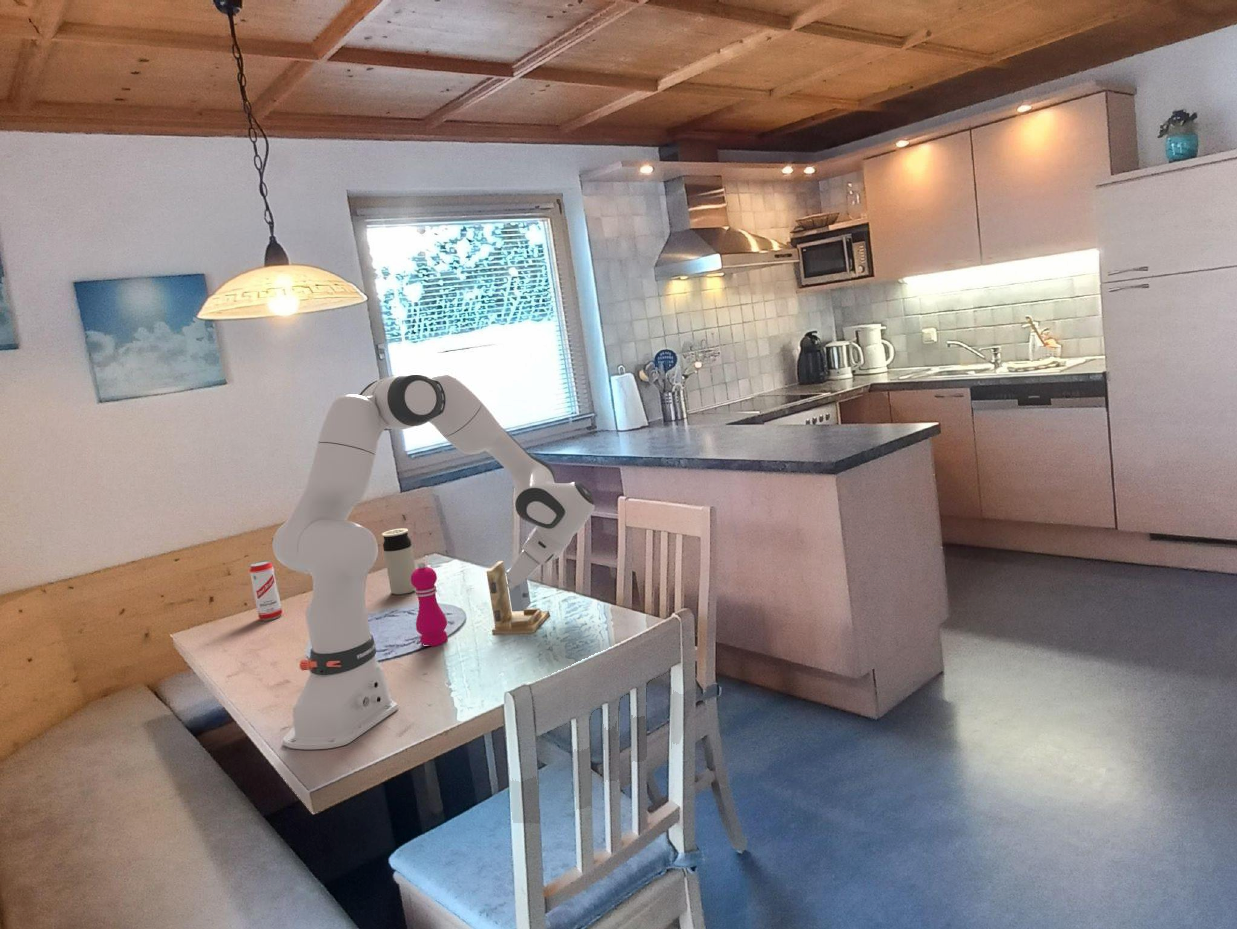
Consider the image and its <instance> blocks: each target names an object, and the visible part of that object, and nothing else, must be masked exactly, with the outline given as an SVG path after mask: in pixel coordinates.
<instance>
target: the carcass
mask: <svg viewBox="0 0 1237 929" xmlns="http://www.w3.org/2000/svg"><path fill="white" fill-rule="evenodd" d="M486 576H487V585H488V590H489V596H490V603H491V610H492V616H493V622H494V623H493V624H494V627H493V628H492V629H491V633H492V635H500V634H501V635H505V634H510V635H511V634H534V632H536V630H537V629H538V628H539V627H540V626H541V625H542V624H543V623H544V621H546V620H547V618H548V617H549V616H550V610H541V609H540V608H539V607H538V608H526V609H525V610H524V611H515V612H512V607H511V601H510V595H509V588H508V586H507V584H508V582H507V576H506V567H505V562H504V560H498V561H497V562H496V563H495V564H494V565H492V566H491V567H490V568H489V569H486Z"/></svg>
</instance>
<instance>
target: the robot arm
mask: <svg viewBox="0 0 1237 929" xmlns="http://www.w3.org/2000/svg"><path fill="white" fill-rule="evenodd" d="M428 422H429V423H430V424H432V426H434V427H435V429H436V430H437V431H438V432H439V433H440V434H441V435H442V437H443V438H445V439H446V441H447V442H449V443H450V445H452V446H453V447H454V448H456V450H458V451H459V452H461V453H463V454H465V455H476V454H481V453H483V452H484V451H485V452H487V453H489V454H490V455H491V456H492V457H493V458H494V459H495V460H496V461H497V462H498V463H499V464H500V465H501V466H502V467H503V468H504V469H505V470H506V471H507V472H508V473H509V474H510V477H511V479H512V483H513V487H514V488H513V489H514V506H515V511H516V514H517V515H518V516H519V517H520V519H522V520H524V521H525V522H528V523H530V524H533V525H535V526H534V528H533V529H532V530H531V532H530V533H529V534H528V536H527V540H526V541H525V542H524V544H523V545H522V546H521V549H522V550H521V551H520V553H519V555H518V556H517V557H516V559H515V560H514V562H513V564H512V566H511V567H510V568H511V569H510V568H509V569H510V570H509V569H508V570H509V572H508V574H507V576H506V578H507V577H508V579H510V582H509V583H508V582H507V587H509V588H510V589H511V590H513V589H514V588H515V587H516V585H519V584H521V583H522V582H523V581H524V580H525V579H526V578H527V579H528V578H529V577H530V575H532V574H533V573H534V572H535V570H537V569H538V568H540V566H543V565H545V564H546V563H548V562H550V561H553V560H557V559H558V558H559V557H560V556H561V555H562V554H563V552H564V551H565V550H566V549H567V547H568V546H569V545H570V543H571V542H572V539H573V537H574V536H575V534H577V533H579V531H581V530H582V528H583V527H584V525H585V524H586V523H587V521H588V520H589V518H590V517H591V515H592V514H593V511H594V510H595V506H596V504H595V499H594V496H593V494H592V493H591V492H590V490H589V488H587V487H586V486H585V485H584V484H583V483H580V482H578V481H572V482H569V483H567V482H564V483H562V482H560V483H558V482H557V483H556V474H555V471H554V469H553V468H552V466H551V465H549V463H547V462H545V461H544V460H542V459H540V458H538V457H535V456H534V455H533V454H530V453H529V452H528V451H527V450H525V448H523V447H522V446H521V444H520V443H519V442H517V441H516V439H515V438H514V437H513V436H512V435H510V434H509V432H507V431H506V430H505V429H504V428H503V427H502V425H500V423H499V422H498V421H497V419H496V418H495V416H494V415H493V414H492V412H490V410H489V408H487V407H486V405H485V404H484V403H483V402H482V401H481V400H480V399H479V398H478V396H476V395H475V394H474V393H473V391H471V390H470V389H469V388H468V387H467V386H466V385H465V384H463V383H462V382H461V381H460V380H458V379H457V378H456V377H454V376H453V375H452V374H451V373H450V374H449V373H446V372H440V373H435V374H434V375H431V376H430V377H428V376H425V375H423V374H420V373H415V372H407V373H403V374H395V375H390V376H389V375H388V376H386V377H382V379H381V378H380V379H379V380H376V381H372V382H371V383H369V384H368V385H367V386H366V387H364V389H362V391H361V392H360V393H359V394H353V393H352V394H349V393H348V394H343V395H341V396H338V397H337V398H335V399H334V400H333V402H332V403H331V405H330V407H329V409H328V411H327V414H326V416H325V419H324V421H323V424H322V427H321V430H320V433H319V436H318V441H317V444H316V449H315V452H314V455H313V456H314V458H313V459H312V464H311V467H310V473H309V475H308V480H307V482H306V484H305V487H304V490H303V492H302V494H301V496H300V498H299V500H298V501H297V504H296V505H295V507H294V508H293V510H292V513H291V514H290V516H289V517H288V519H287V520H286V521H285V522H284V523H283V524H282V525H281V526H279V528H277V530H276V531H275V533H274V535H273V538H272V543H271V544H272V545H271V546H272V553H273V555H274V557H275V558H276V560H277V561H278V562H279V563H280V564H281V565H283V566H284V567H286V568H288V569H289V570H291V571H294V572H295V573H300V574H305V575H310V576H311V578H312V584H313V585H312V586H313V587H312V598H311V601H310V603H309V604H308V605H307V606H306V609H305V619H306V625H307V629H308V634H309V639H310V640H309V641H310V645H311V649H310V653H309V659H301V660H300V662H299V665H298V667H299V670H301V671H309V676H308V677H307V680H306V681H305V684H304V686H303V688H302V690H301V692H300V694H299V696H298V698H297V700H296V702H295V704H294V706H293V708H292V719H293V727H292V728H291V729H290V730H289V731H288V733H286V734H285V735H284V737H283V738H282V745H283V746H284V747H286V748H289V749H294V750H325V749H332V748H338V747H342V746H345V745H348V744H349V743H351V742H352V741H355V740H356V739H357V738H358V737H360V736H361V735H362V734H364V733H365V732H367V731H368V730H370V729H371V728H372V727H374V726H376V725H377V724H379V723H380V722H381V721H383V720H384V719H385V718H387V717H389V716H391V714H393V713H394V712H396V711H397V710H398V709H399V707H398V704H397V702H396V701H395V700H393V699H392V696H391V692H390V689H389V688H390V687H389V685H388V681H387V678H386V674H385V670H384V669H383V667H382V666H381V664H380V663H379V661H378V660H377V657H376V654H377V648H376V641H375V640H374V636H373V634H372V633H371V630H370V624H369V618H368V612H367V606H366V585H367V578H368V574H369V571H370V570H371V569H372V568H373V566H374V565H375V563H376V560H377V558H378V553H379V545H378V542H377V538H376V536H375V535H374V533H373V532H372V531H371V530H370V529H368V528H366V527H365V526H362V525H360V524H359V523H356V522H354V521H351V520H348V518H349V516H350V514H351V513H352V511H353V509H354V508H355V507H356V505H357V504H358V503H359V502H360V501H362V500H363V498H365V496H366V494H367V493H368V490H369V485H370V480H371V476H372V472H373V469H374V468H373V467H374V463H375V458H376V454H377V448H378V442H379V441H380V437H381V435H382V434H383V432H384V431H391V430H406V429H410V428H413V427H419V426H422V425H424V424H426V423H428ZM509 588H508V589H509Z"/></svg>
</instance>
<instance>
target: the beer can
mask: <svg viewBox="0 0 1237 929" xmlns="http://www.w3.org/2000/svg"><path fill="white" fill-rule="evenodd" d="M249 575H250V580H251V586H252V590H253V595H254V600H255V605H256V610H257V615H258V618H259V619H260V620H262V621H265V622H267V621H273V620H276V619H278V618H280V617H281V615H282V614H283V609H282V604H281V598H280V594H279V588H278V583H277V579H276V574H275V569H274V565H273V564H272V563H271V561H270V560H261V561H255V562H254V563H251V564H250V569H249Z"/></svg>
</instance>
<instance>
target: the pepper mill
mask: <svg viewBox="0 0 1237 929" xmlns="http://www.w3.org/2000/svg"><path fill="white" fill-rule="evenodd" d="M417 567H418V568H416V570H415V571H414V572H413V573H412V575H411V583H412V585H413V586H414V587H415V588H416V589H415V591H414V592H415V597H417V599H418V611H417V616H416V619H415V620H416V622H415V627H416V628H415V629H416V631H417V633H418V634H419V635H421V636H420V637H419V641H420V645H421V644H424V645H429V646H433V647H438V646H440V644H441V645H443V644H444V643H446V642H447V641H448V633H447V631H445V630H446V628H447V627H448V621H447V617H446V615H445V613H444V611H443V610H442V608H441V607H440V605H439V602H438V601H437V595H436V593H437V592H438V590H437V585H435V584H436V582H437V579H438V576H437V572H436V571H435V569H433V568H432V567H429V566H426V562H425V561H422V560H421V561H418V562H417Z"/></svg>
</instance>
